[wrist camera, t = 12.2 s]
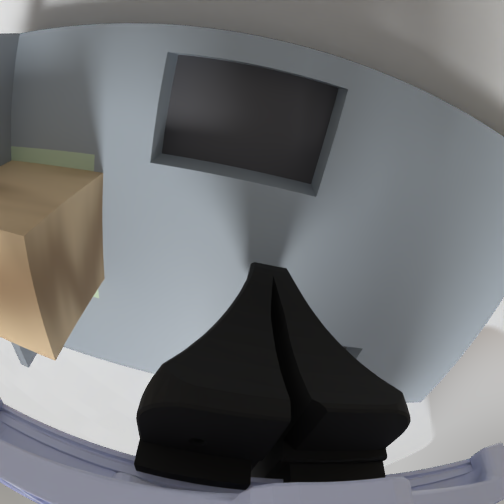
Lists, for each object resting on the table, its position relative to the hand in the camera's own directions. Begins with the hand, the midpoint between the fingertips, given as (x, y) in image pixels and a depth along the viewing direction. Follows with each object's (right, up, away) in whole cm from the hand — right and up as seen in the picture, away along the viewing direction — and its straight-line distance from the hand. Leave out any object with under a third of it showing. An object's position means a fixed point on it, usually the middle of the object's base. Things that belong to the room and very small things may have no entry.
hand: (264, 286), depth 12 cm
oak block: (-9, +3, 0) cm, 9 cm away
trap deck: (+1, +1, +2) cm, 3 cm away
